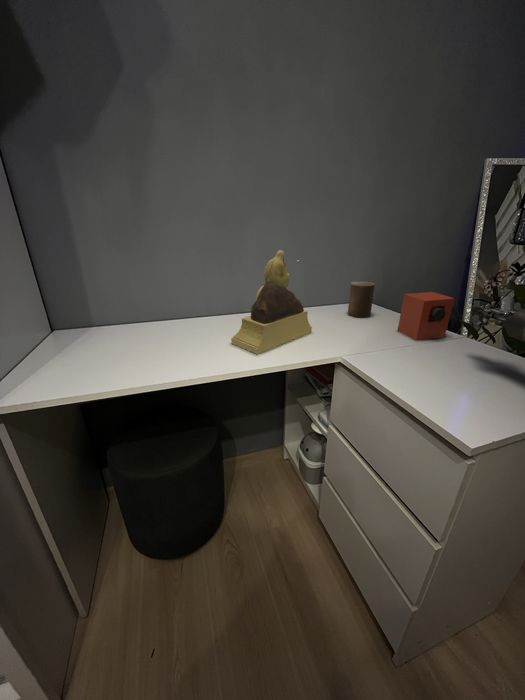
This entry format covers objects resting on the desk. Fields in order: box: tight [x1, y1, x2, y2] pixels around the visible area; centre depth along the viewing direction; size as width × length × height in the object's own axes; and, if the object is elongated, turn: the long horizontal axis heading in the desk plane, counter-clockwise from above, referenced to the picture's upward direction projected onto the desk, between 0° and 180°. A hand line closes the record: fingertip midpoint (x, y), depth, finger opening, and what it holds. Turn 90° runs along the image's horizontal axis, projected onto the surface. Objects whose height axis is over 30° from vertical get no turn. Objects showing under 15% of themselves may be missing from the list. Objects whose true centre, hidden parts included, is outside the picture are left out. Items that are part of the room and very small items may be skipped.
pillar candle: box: [347, 280, 376, 319], centre depth 128 cm, size 10×10×15 cm
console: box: [397, 291, 455, 341], centre depth 107 cm, size 10×12×14 cm
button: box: [430, 308, 446, 322], centre depth 101 cm, size 2×4×4 cm, turn 104°
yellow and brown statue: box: [230, 249, 313, 355], centre depth 101 cm, size 28×13×30 cm, turn 134°
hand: (474, 309), depth 87 cm, fingers closed
